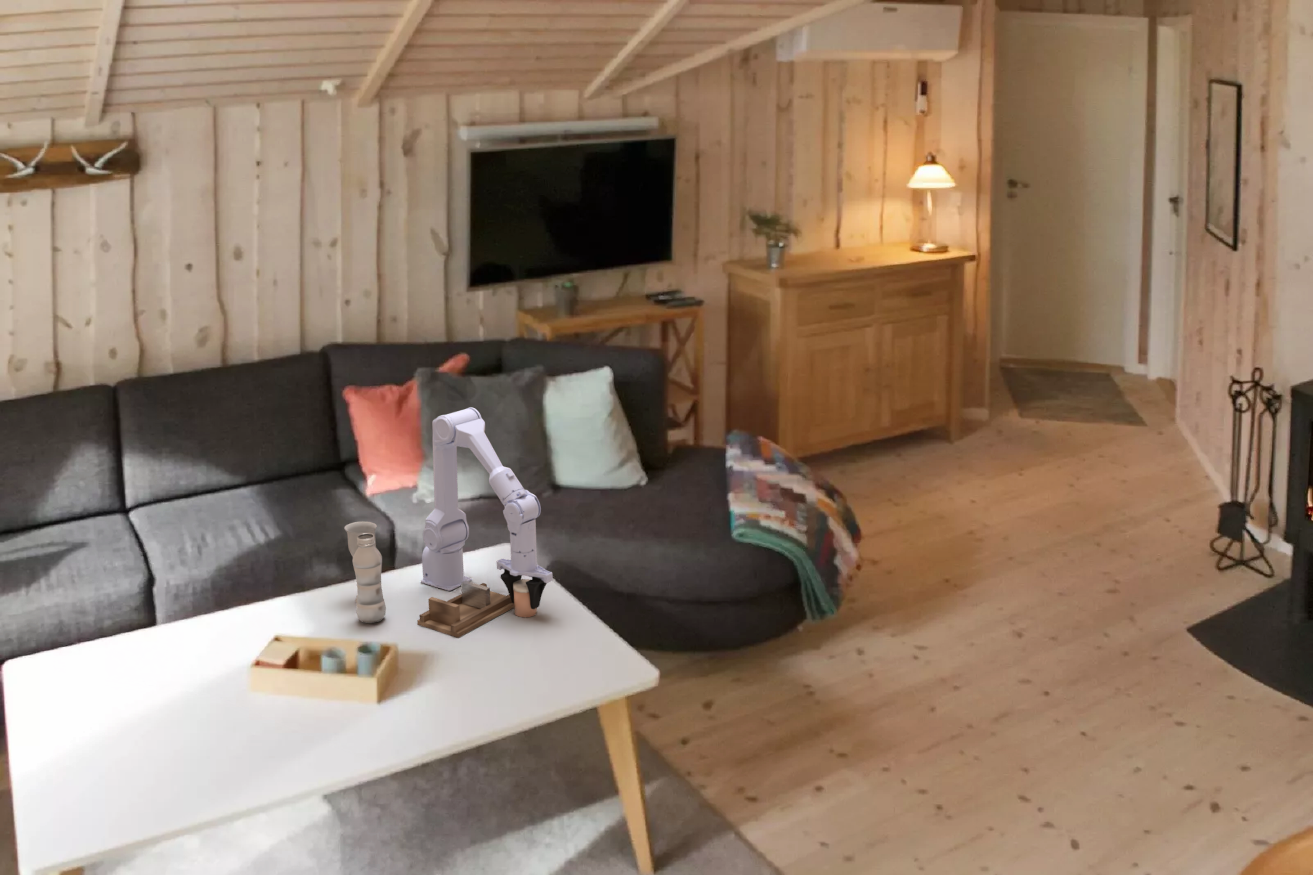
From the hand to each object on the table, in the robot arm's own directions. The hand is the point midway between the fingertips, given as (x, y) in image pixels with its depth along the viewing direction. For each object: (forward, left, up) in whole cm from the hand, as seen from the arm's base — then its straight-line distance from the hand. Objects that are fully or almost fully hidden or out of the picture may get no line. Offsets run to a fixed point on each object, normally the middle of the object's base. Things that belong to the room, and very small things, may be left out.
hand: (525, 604), depth 296 cm
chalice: (-35, -15, -2) cm, 38 cm away
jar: (0, 0, -2) cm, 2 cm away
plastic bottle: (-26, -22, -2) cm, 34 cm away
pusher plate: (-10, -5, -1) cm, 11 cm away
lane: (-10, -8, -2) cm, 13 cm away
